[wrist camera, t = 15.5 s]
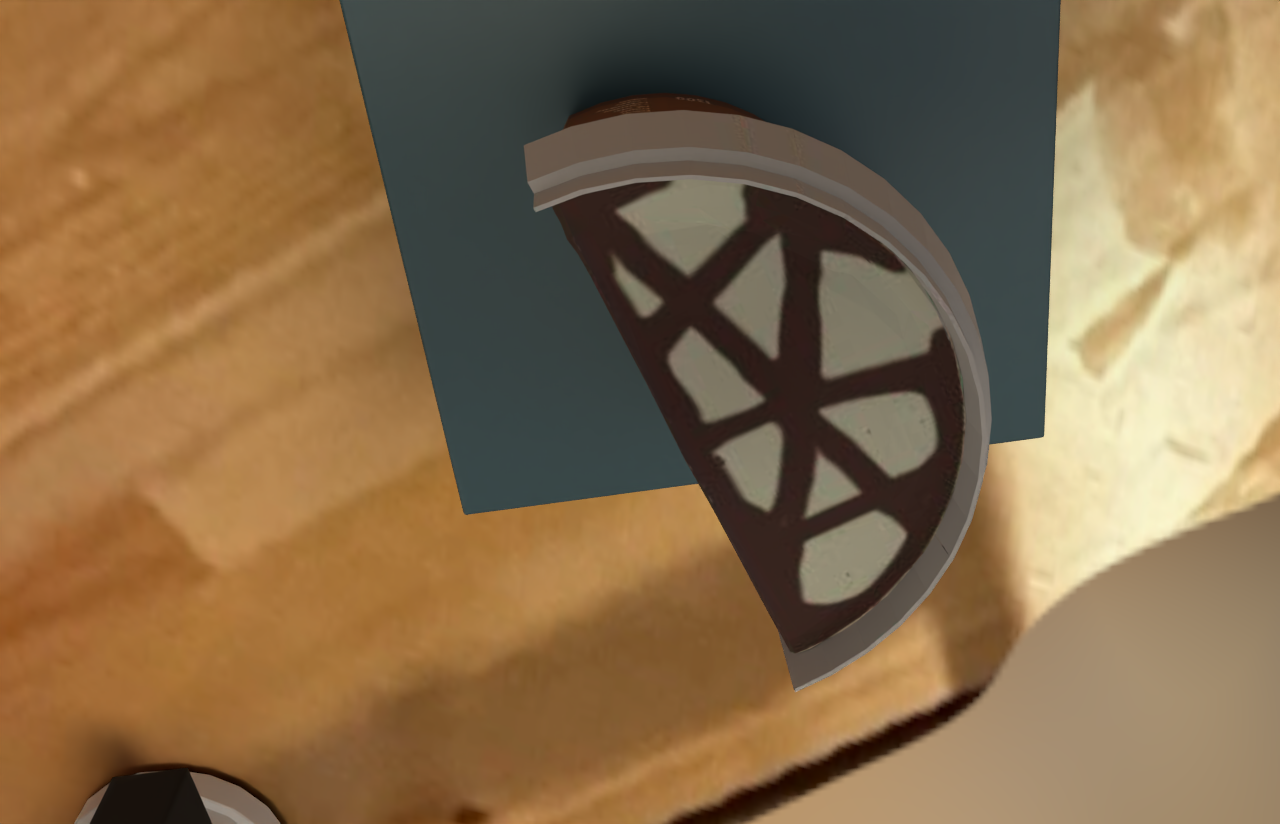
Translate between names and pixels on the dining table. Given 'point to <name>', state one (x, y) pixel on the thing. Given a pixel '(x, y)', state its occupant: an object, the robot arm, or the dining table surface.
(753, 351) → the food container
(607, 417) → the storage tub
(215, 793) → the cup
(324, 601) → the dining table surface
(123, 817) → the robot arm
